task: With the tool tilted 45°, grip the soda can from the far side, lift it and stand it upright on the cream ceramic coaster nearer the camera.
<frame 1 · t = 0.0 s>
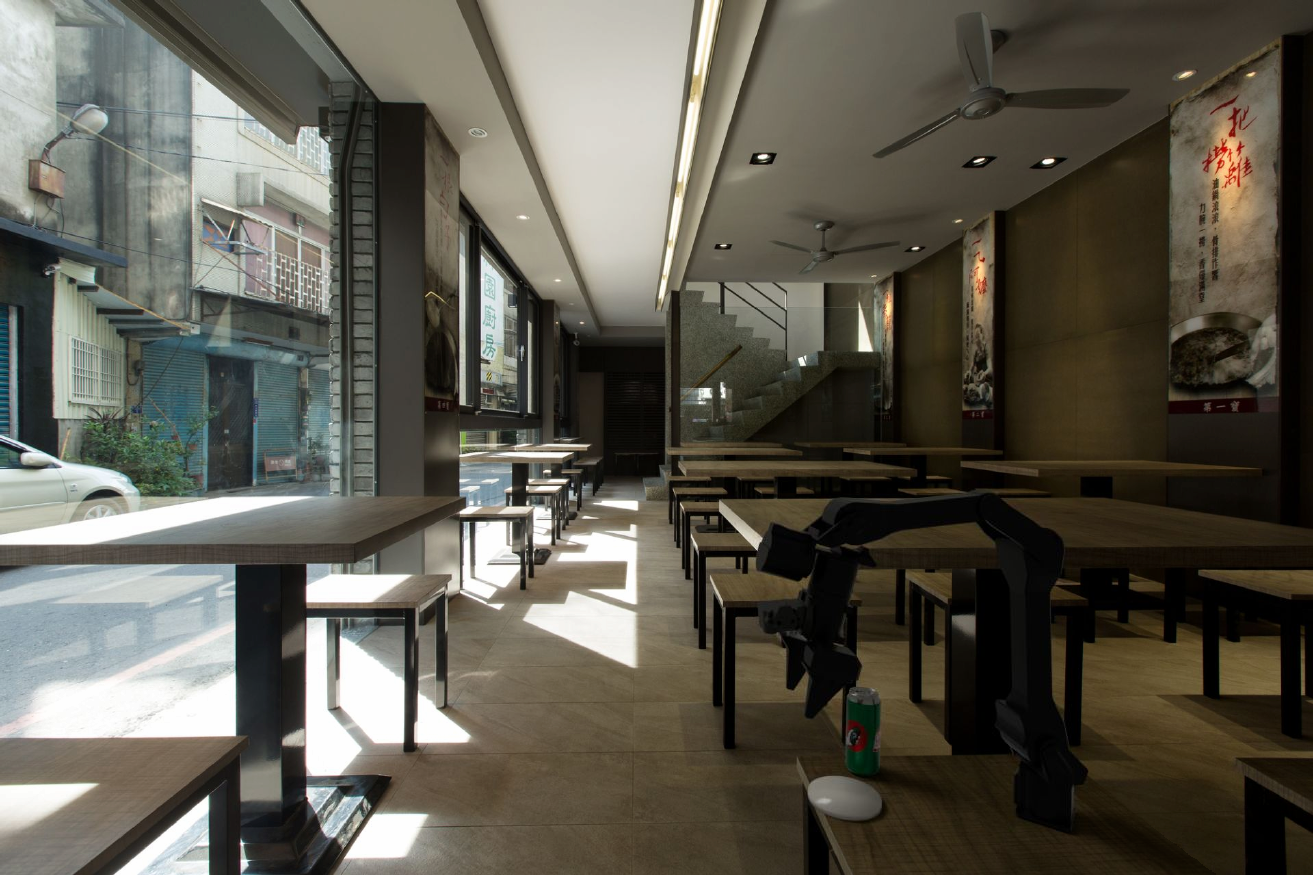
hand: (798, 703, 89), 15 cm above the table, tool pointing down, fingers open, 9 cm apart
coaster: (844, 800, 93), on the table
soda can: (862, 771, 102), on the table
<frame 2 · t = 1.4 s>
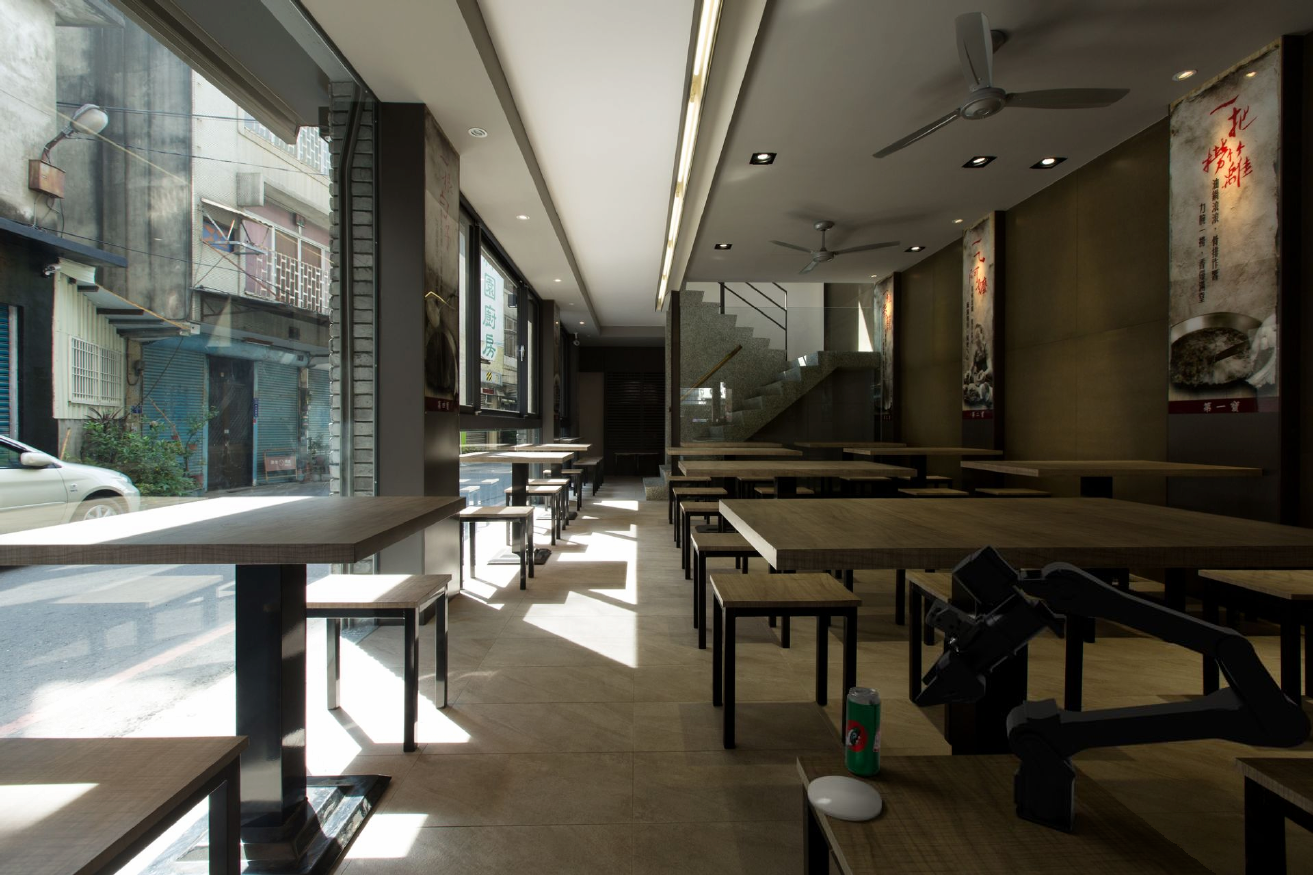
hand: (920, 693, 98), 13 cm above the table, tool tilted 45°, fingers open, 9 cm apart
nothing on the table moved.
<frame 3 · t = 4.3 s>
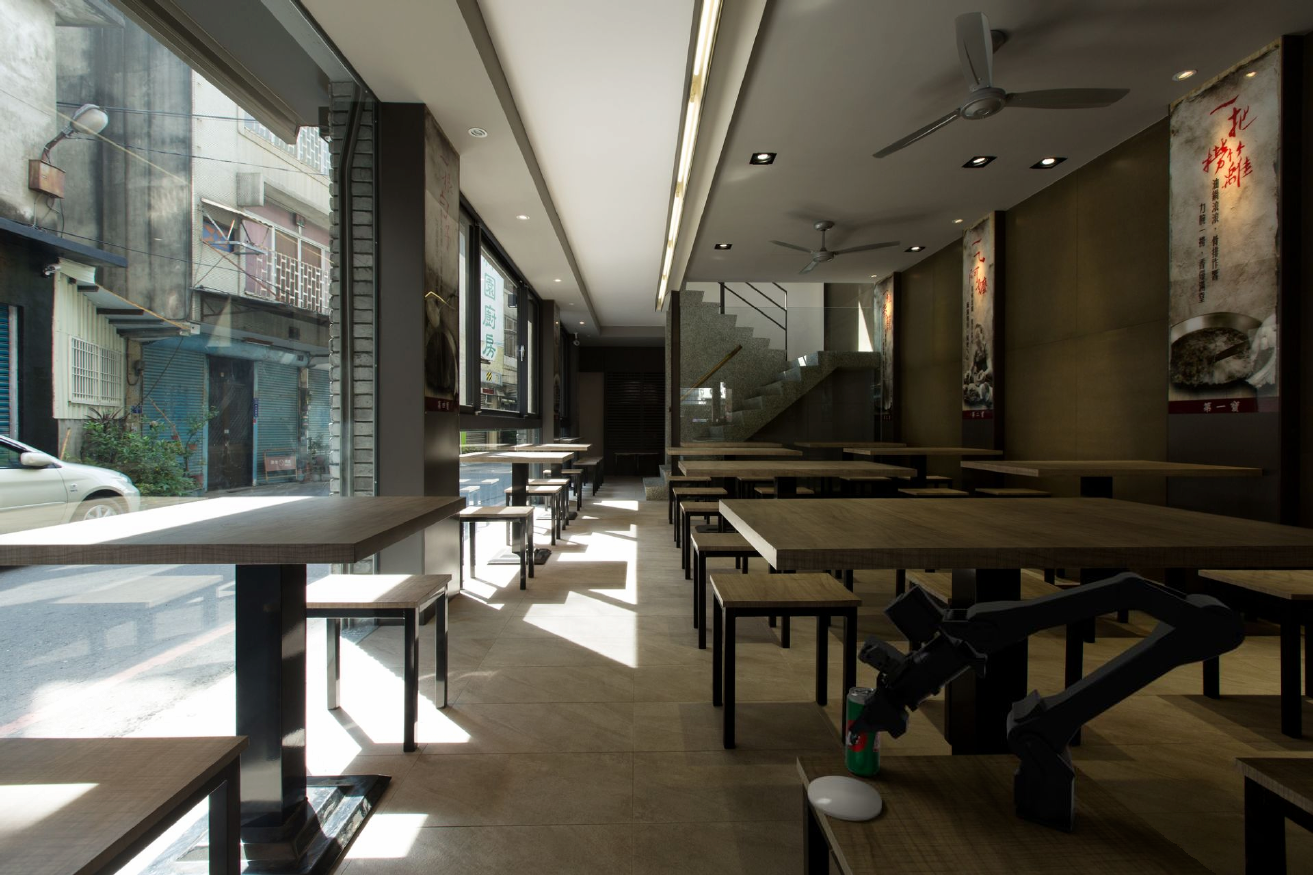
hand: (853, 724, 103), 7 cm above the table, tool tilted 45°, fingers closed on soda can, 5 cm apart
soda can: (862, 770, 102), on the table, touching gripper
when the fingers open (9 cm above the table, at t = 7.8 s): soda can stays where it is, resting on coaster.
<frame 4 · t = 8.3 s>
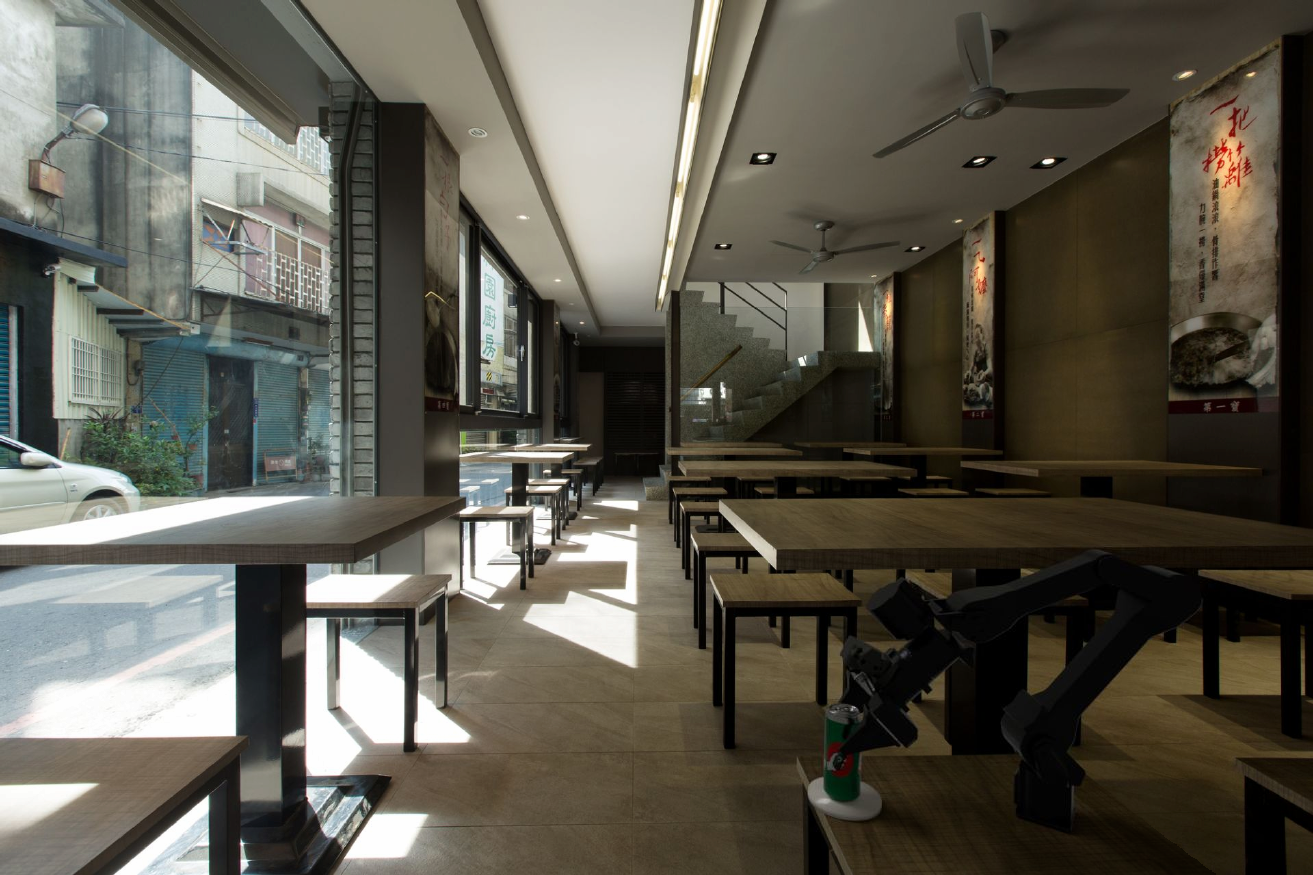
hand: (835, 736, 93), 9 cm above the table, tool tilted 45°, fingers open, 9 cm apart
soda can: (841, 795, 93), point 1 cm above the table, touching coaster
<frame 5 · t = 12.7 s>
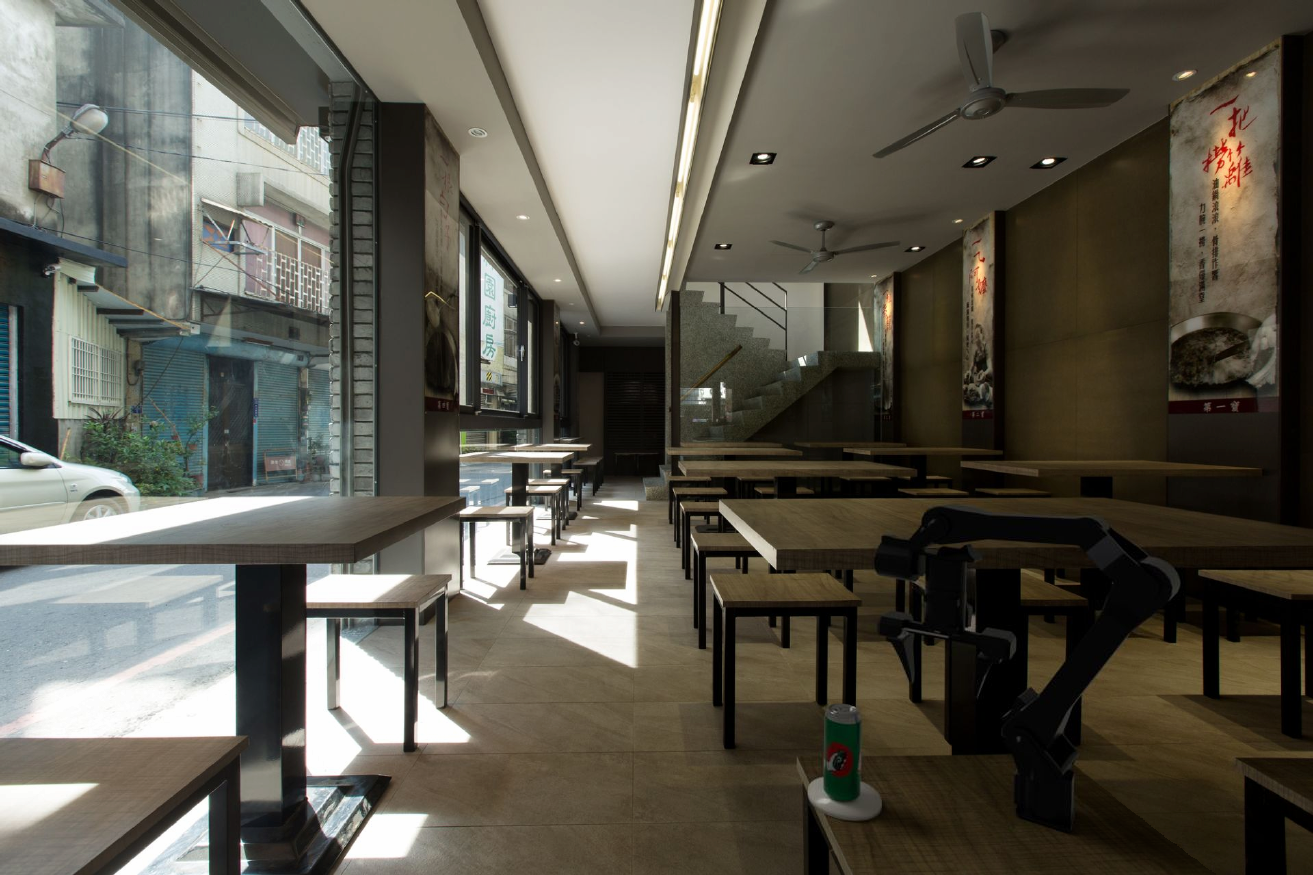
hand: (942, 689, 101), 13 cm above the table, tool pointing down, fingers open, 9 cm apart
nothing on the table moved.
at the end: soda can 0.4 cm from the coaster (horizontally); soda can touching coaster; soda can tilted 0° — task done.
